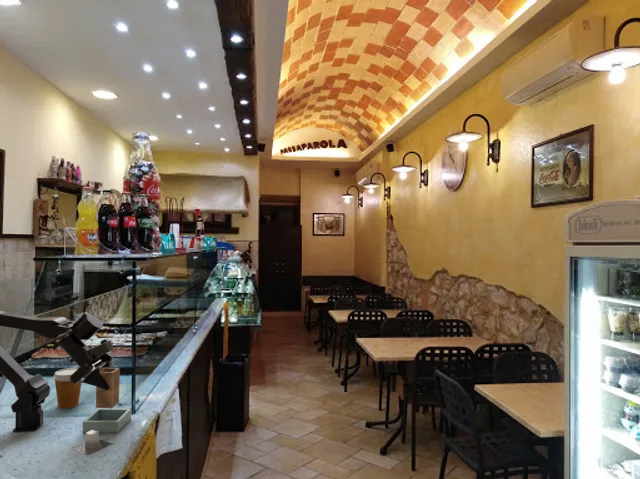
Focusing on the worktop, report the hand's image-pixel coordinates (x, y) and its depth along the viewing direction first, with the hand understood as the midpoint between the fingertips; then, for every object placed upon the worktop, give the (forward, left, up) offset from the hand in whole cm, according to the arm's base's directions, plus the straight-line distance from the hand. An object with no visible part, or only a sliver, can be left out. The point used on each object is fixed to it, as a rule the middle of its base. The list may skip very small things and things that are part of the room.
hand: (112, 386), depth 145 cm
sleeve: (-1, 0, -6) cm, 6 cm away
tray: (-1, +1, -13) cm, 13 cm away
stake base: (-2, -13, -13) cm, 19 cm away
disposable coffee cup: (-19, +23, -14) cm, 33 cm away
